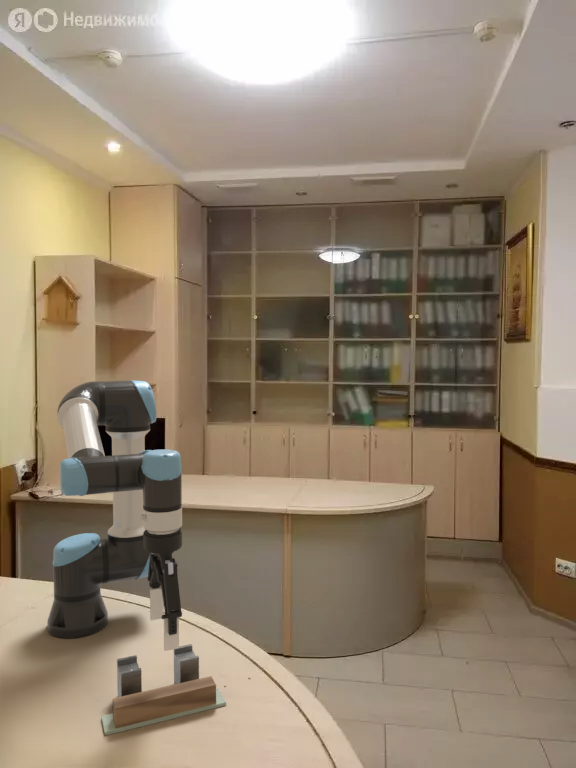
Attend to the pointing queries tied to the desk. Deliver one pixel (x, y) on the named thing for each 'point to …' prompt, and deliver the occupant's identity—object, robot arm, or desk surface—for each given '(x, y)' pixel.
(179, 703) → the rail
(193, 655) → the cradle posts
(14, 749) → the desk surface
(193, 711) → the mat
